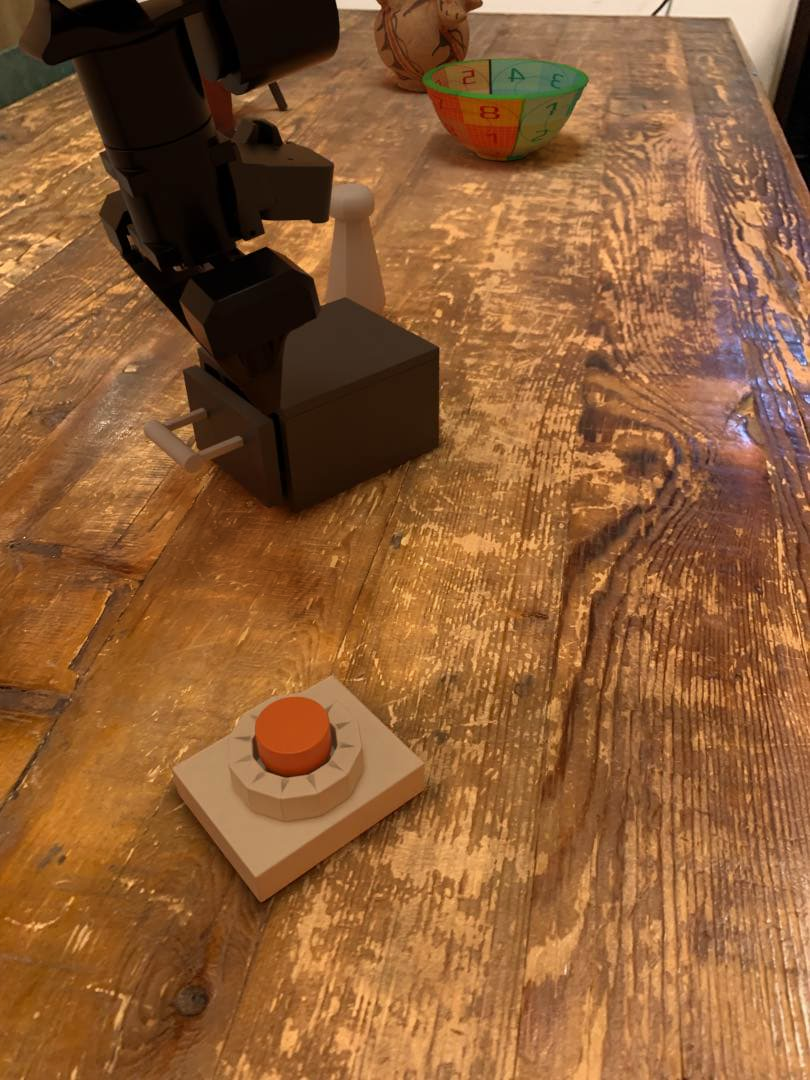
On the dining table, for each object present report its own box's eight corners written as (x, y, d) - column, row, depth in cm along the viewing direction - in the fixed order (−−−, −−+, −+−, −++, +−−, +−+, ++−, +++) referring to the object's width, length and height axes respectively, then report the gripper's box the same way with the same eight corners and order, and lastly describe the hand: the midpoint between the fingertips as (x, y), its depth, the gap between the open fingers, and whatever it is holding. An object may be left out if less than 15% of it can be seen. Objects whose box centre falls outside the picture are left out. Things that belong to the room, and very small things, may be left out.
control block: (260, 904, 44) (250, 854, 41) (177, 794, 49) (164, 744, 46) (425, 790, 49) (424, 739, 46) (334, 700, 54) (330, 650, 51)
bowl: (591, 177, 124) (600, 95, 118) (422, 179, 125) (421, 98, 119) (571, 129, 142) (578, 56, 136) (422, 131, 142) (422, 58, 136)
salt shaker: (315, 321, 92) (304, 186, 84) (363, 305, 95) (356, 172, 87) (349, 342, 88) (341, 203, 80) (398, 325, 91) (395, 188, 83)
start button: (284, 789, 45) (281, 766, 44) (244, 743, 47) (240, 720, 46) (346, 750, 46) (344, 727, 45) (304, 708, 49) (301, 684, 48)
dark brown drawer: (211, 536, 64) (195, 452, 60) (141, 470, 71) (122, 390, 67) (406, 446, 73) (405, 367, 68) (328, 394, 79) (322, 319, 75)
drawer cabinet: (295, 513, 68) (283, 409, 62) (213, 446, 75) (196, 348, 69) (439, 446, 74) (439, 347, 69) (351, 390, 81) (345, 296, 76)
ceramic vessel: (464, 102, 155) (468, -80, 140) (352, 98, 158) (343, -80, 143) (481, 76, 169) (486, -92, 154) (377, 73, 172) (372, -92, 157)
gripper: (381, 119, 44) (427, 390, 55) (228, 43, 57) (291, 276, 68) (163, 204, 41) (257, 473, 52) (52, 104, 54) (147, 338, 65)
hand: (241, 378), depth 59 cm, fingers open, 9 cm apart
